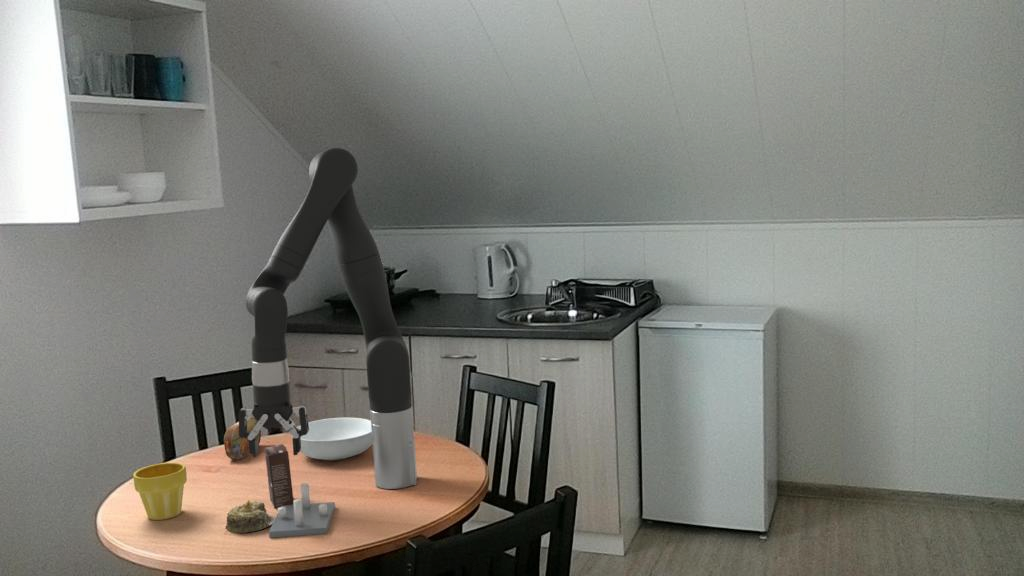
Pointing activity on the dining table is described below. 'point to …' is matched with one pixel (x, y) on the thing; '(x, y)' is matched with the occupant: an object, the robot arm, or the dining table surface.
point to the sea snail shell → (248, 518)
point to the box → (279, 475)
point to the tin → (239, 440)
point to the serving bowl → (336, 438)
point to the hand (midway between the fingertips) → (275, 455)
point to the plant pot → (161, 489)
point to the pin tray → (307, 520)
